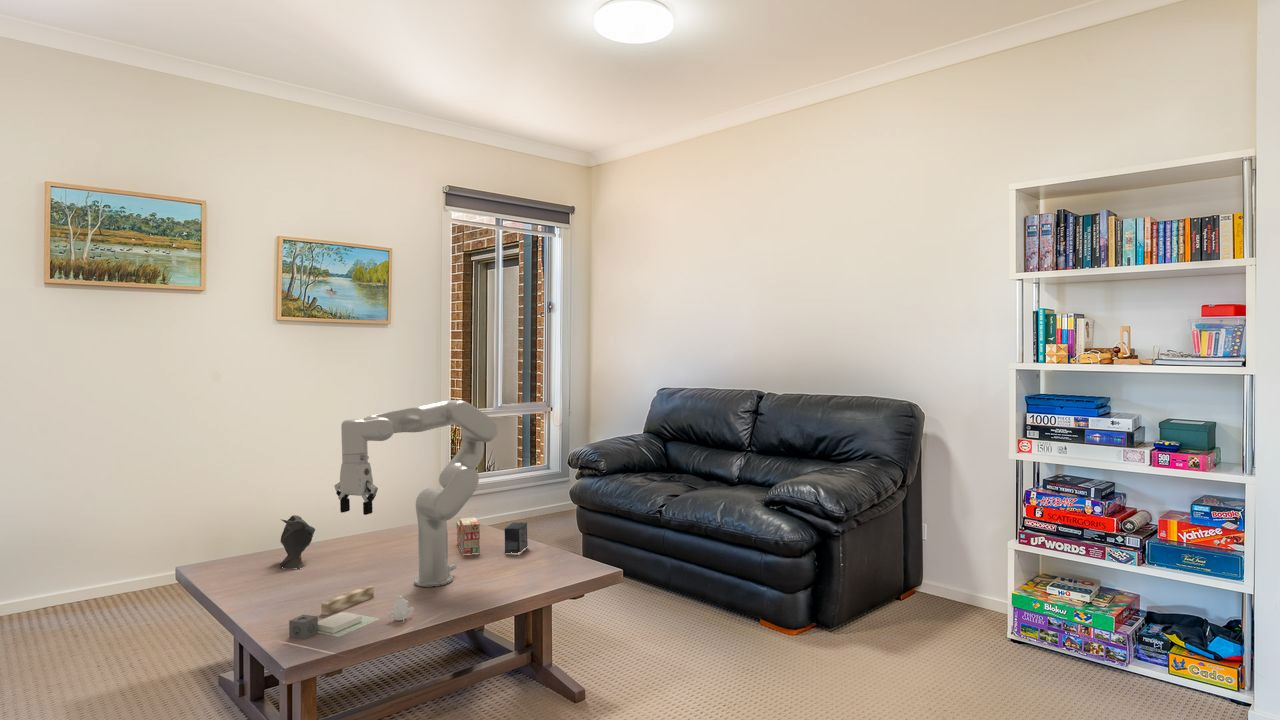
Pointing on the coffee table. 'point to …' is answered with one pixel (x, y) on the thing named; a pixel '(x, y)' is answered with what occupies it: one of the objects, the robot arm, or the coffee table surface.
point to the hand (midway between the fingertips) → (356, 512)
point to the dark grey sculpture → (295, 541)
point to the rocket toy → (400, 609)
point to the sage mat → (364, 622)
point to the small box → (516, 537)
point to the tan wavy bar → (347, 600)
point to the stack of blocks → (468, 535)
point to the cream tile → (338, 622)
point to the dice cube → (303, 626)
